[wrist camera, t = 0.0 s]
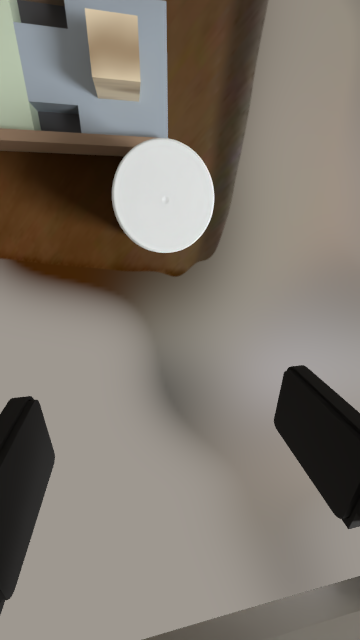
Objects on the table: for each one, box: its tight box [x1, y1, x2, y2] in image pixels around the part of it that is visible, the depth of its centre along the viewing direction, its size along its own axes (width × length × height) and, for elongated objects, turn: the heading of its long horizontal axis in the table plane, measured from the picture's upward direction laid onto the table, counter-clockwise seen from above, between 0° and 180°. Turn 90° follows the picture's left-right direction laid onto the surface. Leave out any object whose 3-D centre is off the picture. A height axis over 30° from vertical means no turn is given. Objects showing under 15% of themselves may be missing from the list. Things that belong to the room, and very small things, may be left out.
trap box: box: [0, 0, 170, 156], centre depth 25 cm, size 14×24×5 cm, turn 90°
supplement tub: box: [112, 138, 214, 253], centre depth 28 cm, size 10×10×15 cm
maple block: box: [85, 8, 141, 102], centre depth 24 cm, size 4×4×4 cm
